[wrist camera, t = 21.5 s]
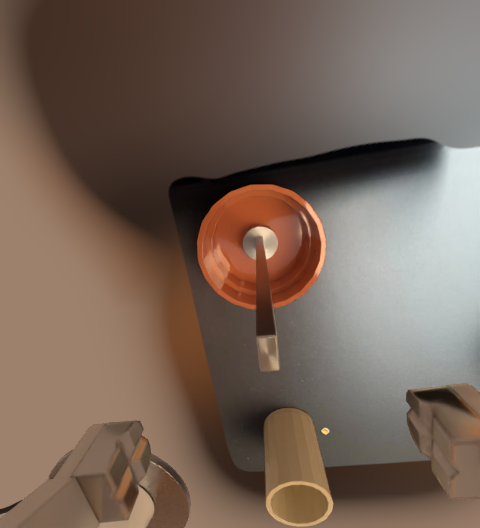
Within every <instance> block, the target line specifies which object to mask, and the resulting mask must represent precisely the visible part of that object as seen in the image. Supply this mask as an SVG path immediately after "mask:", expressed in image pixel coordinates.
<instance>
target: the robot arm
mask: <svg viewBox="0 0 480 528" xmlns="http://www.w3.org/2000/svg"><path fill="white" fill-rule="evenodd" d="M406 401H407V403H408V404H409V405H410V407H411V409H410V410H409V411H408V412H407V423H408V427H409V430H410V433H411V436H412V438H413V440H414V442H415V444H416V445H417V447H418V449H419V450H420V452H421V453H423V454H424V455H425V456H427V457H428V458H430V459H431V461H432V463H431V464H432V471H433V473H434V474H435V476H436V478H437V479H438V481H439V482H440V484H441V486H442V487H443V488H444V490H445V492H446V494H447V495H448V497H449V498H450V499H475V498H480V393H479V392H478V391H477V390H476V389H475V388H474V387H473V386H472V385H470V384H467V383H461V384H453V385H446V386H436V387H428V388H420V389H411V390H408V391H407V393H406ZM142 432H143V427H142V424H141V422H140V421H125V422H112V423H105V424H94V425H93V426H91V427H90V428H88V430H87V431H86V433H85V434H84V435H83V437H82V438H81V440H80V441H79V442H78V444H77V445H76V447H75V448H74V450H73V451H72V452H71V454H70V455H69V457H68V458H67V460H66V461H65V462H64V464H63V465H62V467H61V468H60V470H59V471H58V473H57V474H56V475H55V477H54V478H53V479H48V480H47V481H46V482H45V483H43V484H42V485H41V486H39V487H38V488H37V489H36V490H35V491H33V492H32V493H31V494H30V495H28V496H27V497H26V498H25V499H23V500H21V501H19V502H17V503H15V504H13V505H11V506H9V507H6V508H3V509H0V514H2V513H6V512H7V513H6V514H5V515H4V516H2V517H1V518H0V528H146V527H147V525H148V524H149V522H150V520H151V518H152V517H153V514H154V503H153V501H152V499H151V497H150V496H149V494H148V493H147V492H146V491H145V490H144V489H143V488H141V487H140V486H139V485H138V483H139V482H140V481H141V480H142V479H143V478H144V477H145V476H146V473H147V470H148V468H149V464H150V457H151V450H150V444H149V441H148V439H146V438H145V437H143V436H142V435H141V434H142ZM8 511H9V512H8Z"/></svg>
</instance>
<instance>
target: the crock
mask: <svg viewBox="0 0 480 528" xmlns="http://www.w3.org/2000/svg"><path fill="white" fill-rule="evenodd" d="M264 463H265V493H266V494H265V495H266V507H267V509H268V512H269V514H270V515H272V517H274V518H275V519H276V520H277V521H279V522H281V523H283V524H286V525H291V526H295V527H301V526H302V527H303V526H311V525H315V524H318V523H320V522H322V521H323V520H325V519H326V518H327V517H328V516H329V514H330V513H331V512H332V507H333V500H332V496H331V492H330V488H329V484H328V480H327V476H326V471H325V467H324V463H323V459H322V455H321V451H320V447H319V443H318V439H317V435H316V430H315V427H314V423H313V421H312V419H311V418H310V416H309V415H308V414H307V413H305V412H303V411H302V410H299V409H296V408H281V409H278V410H275V411H274V412H272V413H271V414H270V415H268V417H267V418H266V420H265V422H264Z"/></svg>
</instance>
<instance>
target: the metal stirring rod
mask: <svg viewBox="0 0 480 528" xmlns="http://www.w3.org/2000/svg"><path fill="white" fill-rule="evenodd" d="M277 247H278V240H277V237H276V234H275V232H274V231H273V230H272V229H271V228H270V227H268V226H266V225H255V226H252V227H251V228H249V229H248V230H247V231H246V233H245V235H244V238H243V249H244V251H245V253H246V254H247V255H248V256H249V257H250V258H252V259H254V260H256V341H257V349H258V357H259V365H260V370H261V371H277V370H280V359H279V349H278V339H277V331H276V324H275V317H274V310H273V303H272V296H271V289H270V282H269V275H268V268H267V261H266V259H269V258H270V257H272V256H273V255H274V253H275V252H276V250H277Z"/></svg>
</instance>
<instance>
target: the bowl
mask: <svg viewBox="0 0 480 528" xmlns="http://www.w3.org/2000/svg"><path fill="white" fill-rule="evenodd" d="M255 225H266V226H268V227H270V228H271V229H272V230H273V231H274V232H275V234H276V237H277V240H278V247H277V250H276V252H275V253H274V255H273V256H272V257H270V258H269V259H266V261H267V268H268V275H269V282H270V289H271V296H272V303H273V308H276V307H280V306H284V305H287V304H289V303H291V302H292V301H294V300H296V299H297V298H299V297H300V296H302V295H304V294H305V293H306V292H307V290H308V289H309V288H310V287H311V286H312V285H313V284H314V282H315V281H316V280H317V278H318V276H319V274H320V271H321V269H322V267H323V264H324V262H325V253H326V237H325V233H324V229H323V225H322V222H321V220H320V218H319V217H318V215H317V214H316V212H315V211H314V209H313V208H312V206H311V205H310V204H309V203H308V202H307V201H305V200H304V199H303V198H301V197H300V196H299V195H297V194H296V193H295V192H294V191H291V190H288V189H285V188H282V187H279V186H276V185H272V184H260V185H248V186H245V187H242V188H240V189H237V190H234V191H231V192H229V193H228V194H227V195H225V196H224V197H223V198H222V199H220V200H219V201H218V202H216V203H215V204H214V205H213V206H212V208H211V209H210V211H209V212H208V214H207V215H206V217H205V218H204V220H203V221H202V224H201V228H200V231H199V235H198V239H197V251H198V262H199V264H200V267H201V270H202V272H203V275H204V277H205V279H206V280H207V281H208V283H209V284H210V285H211V286H212V288H213V289H214V290H215V291H216V292H217V293H218V294H219V295H221V296H222V297H224V298H225V299H227V300H228V301H230V302H231V303H233V304H236V305H239V306H242V307H245V308H249V309H256V260H254V259H252V258H250V257H249V256H248V255H247V254H246V253H245V251H244V249H243V238H244V235H245V233H246V231H247V230H248V229H249V228H251V227H252V226H255Z"/></svg>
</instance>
